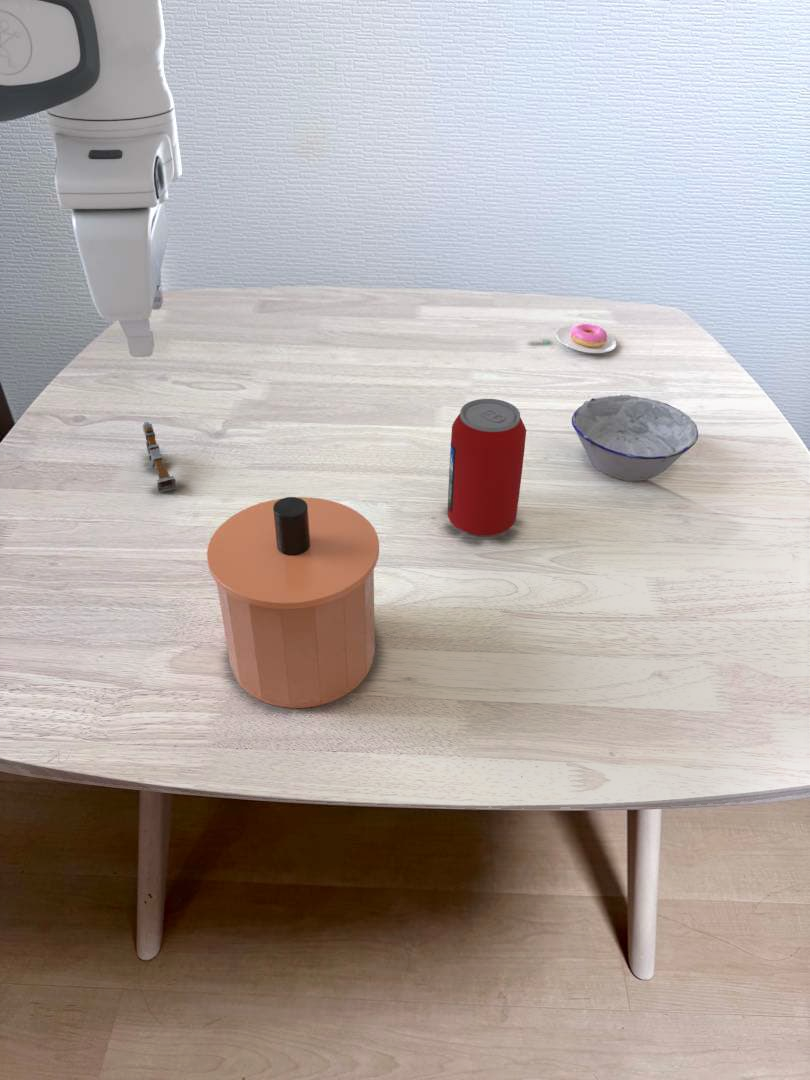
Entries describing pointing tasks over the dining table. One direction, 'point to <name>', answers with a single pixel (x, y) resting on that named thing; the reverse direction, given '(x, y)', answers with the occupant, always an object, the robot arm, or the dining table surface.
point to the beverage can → (485, 467)
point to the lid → (293, 553)
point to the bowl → (633, 435)
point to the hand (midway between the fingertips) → (148, 328)
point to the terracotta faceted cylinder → (301, 647)
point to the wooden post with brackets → (157, 460)
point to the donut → (586, 338)
